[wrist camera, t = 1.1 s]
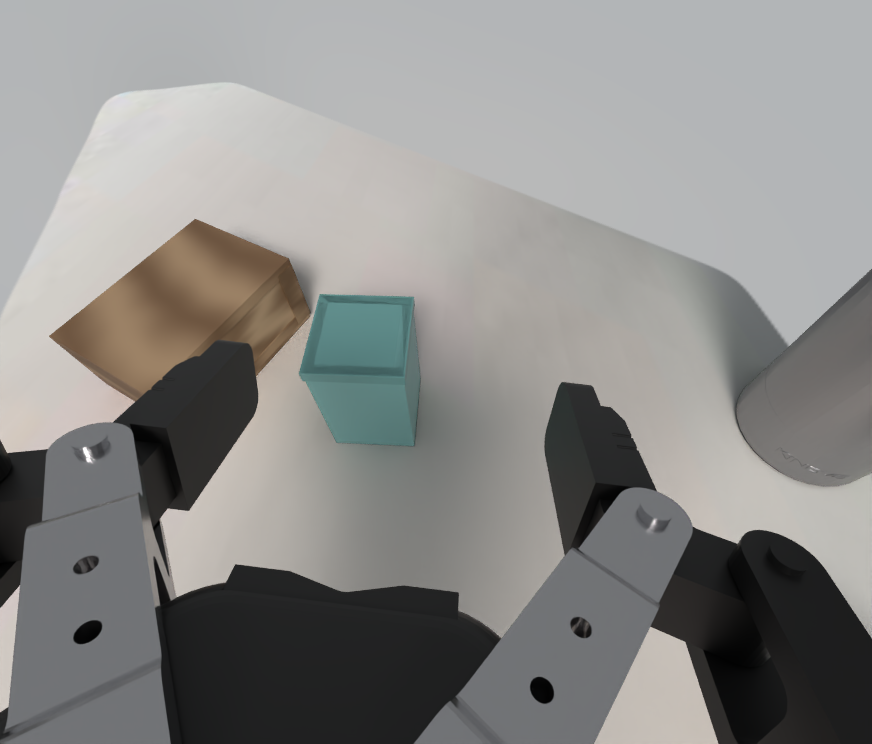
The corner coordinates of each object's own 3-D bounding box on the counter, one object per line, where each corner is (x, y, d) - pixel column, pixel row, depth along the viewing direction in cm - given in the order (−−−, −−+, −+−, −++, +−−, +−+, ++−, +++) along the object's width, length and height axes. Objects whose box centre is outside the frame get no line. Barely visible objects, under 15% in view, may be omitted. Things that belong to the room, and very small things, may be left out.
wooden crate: (228, 277, 45) (194, 218, 39) (311, 316, 42) (289, 258, 36) (110, 386, 38) (48, 336, 33) (199, 441, 36) (148, 396, 30)
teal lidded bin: (348, 375, 38) (319, 294, 30) (421, 378, 38) (413, 296, 30) (335, 443, 35) (298, 374, 27) (415, 447, 35) (404, 377, 26)
